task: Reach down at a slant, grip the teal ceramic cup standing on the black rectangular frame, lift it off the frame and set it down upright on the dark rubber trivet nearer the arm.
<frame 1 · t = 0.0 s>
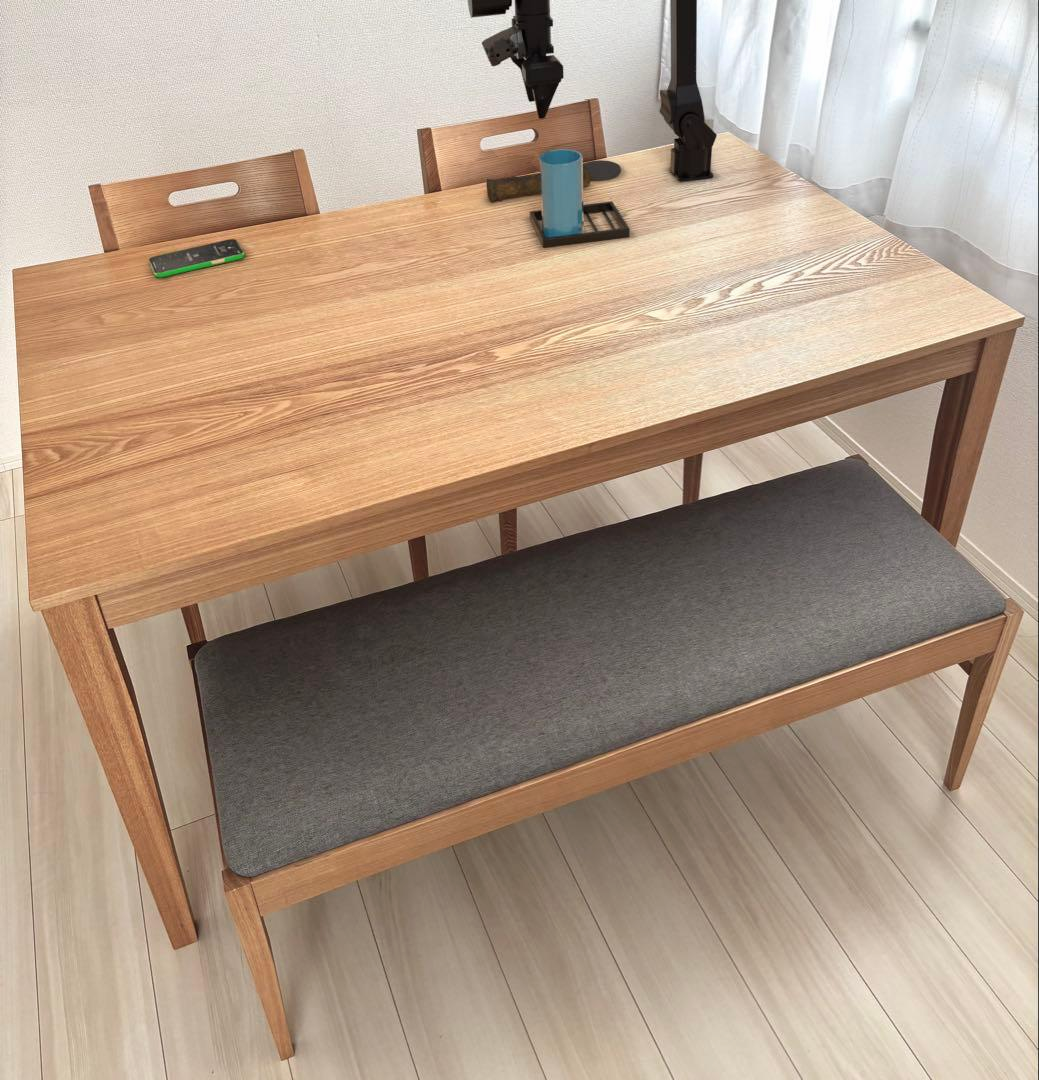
hand: (536, 109, 181), 15 cm above the table, tool pointing down, fingers open, 9 cm apart
black rectangular frame: (578, 228, 177), on the table
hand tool: (538, 194, 190), on the table
cup: (563, 234, 176), resting in black rectangular frame
trivet: (599, 172, 196), on the table
smartphone: (197, 261, 176), on the table
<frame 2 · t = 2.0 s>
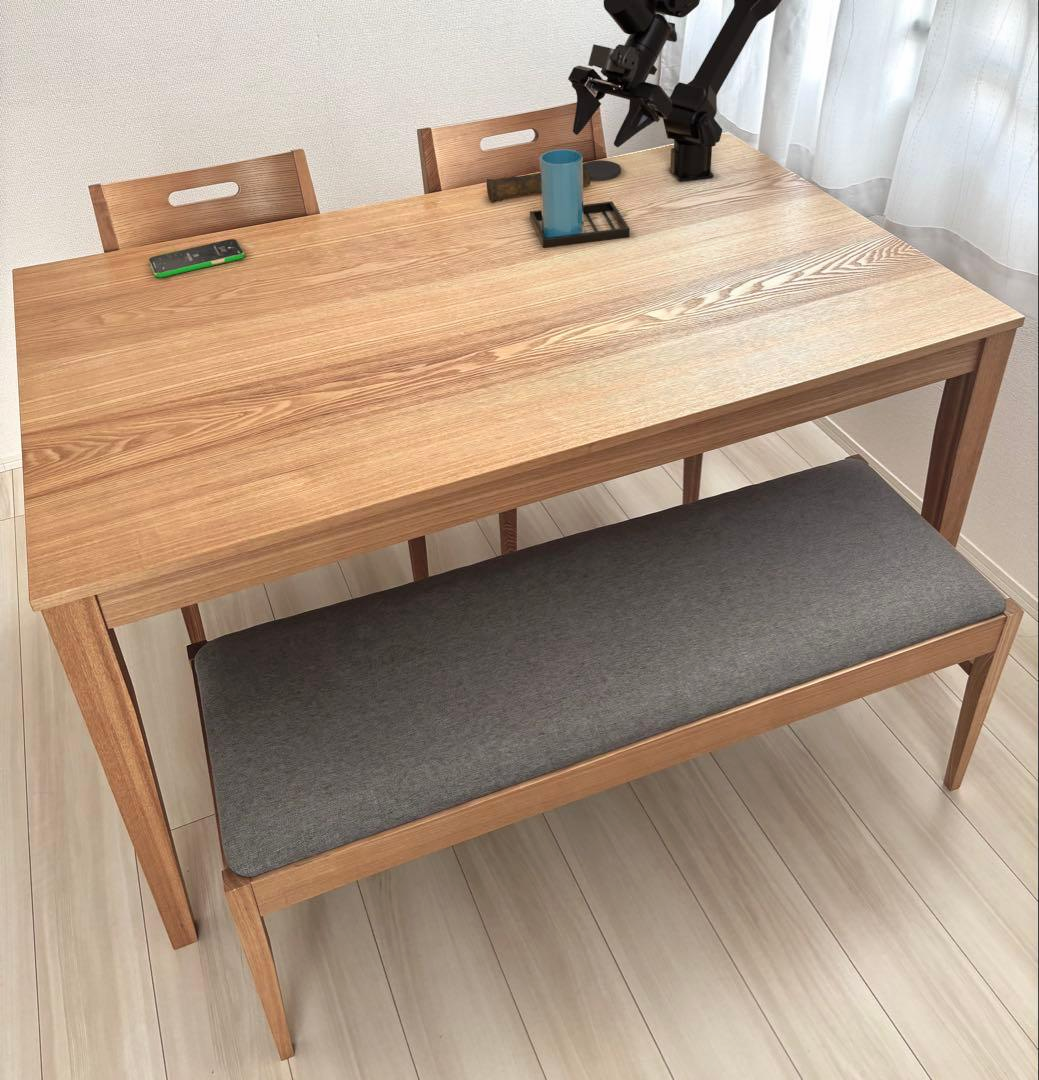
hand: (594, 139, 171), 13 cm above the table, tool tilted 45°, fingers open, 9 cm apart
nothing on the table moved.
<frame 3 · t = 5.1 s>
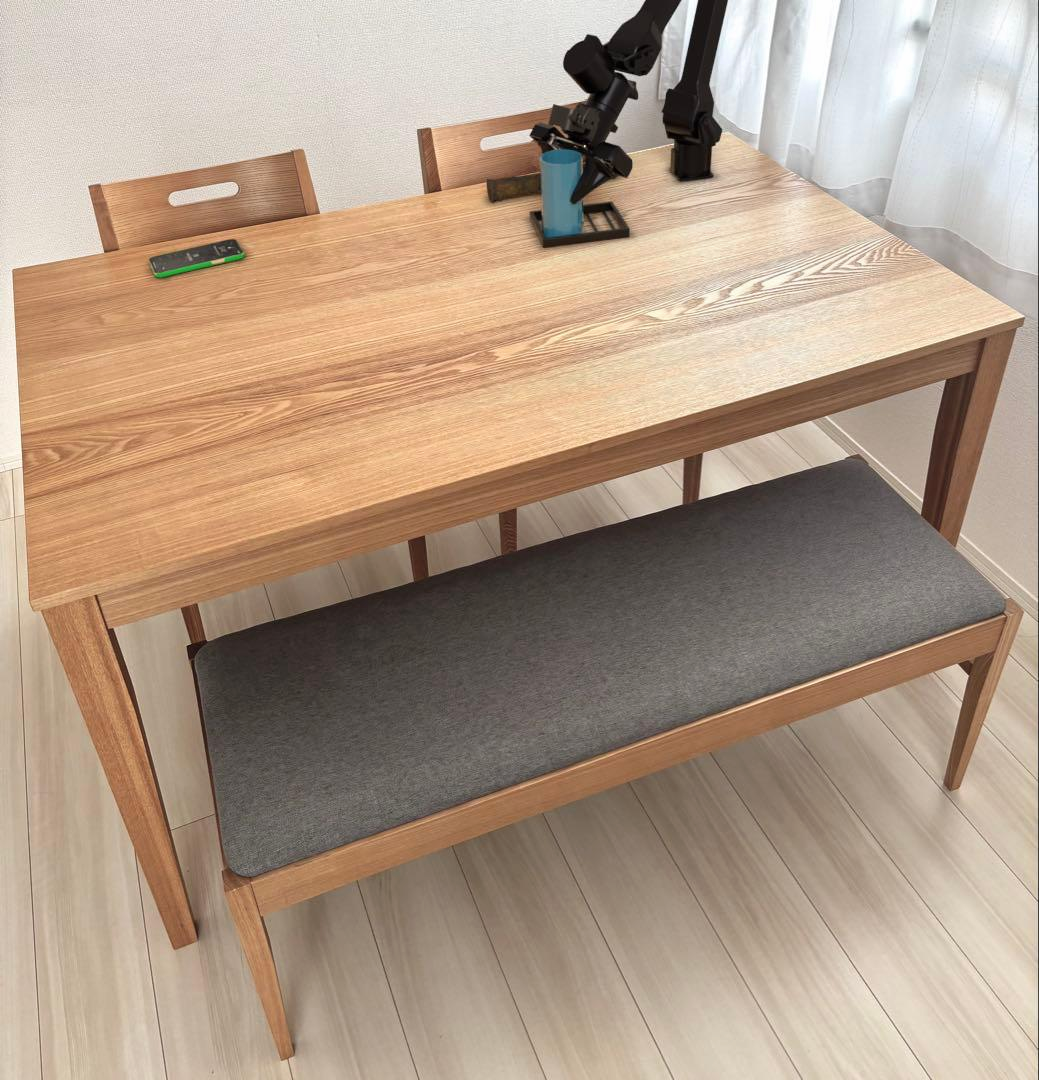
hand: (555, 197, 171), 7 cm above the table, tool tilted 45°, fingers closed on cup, 7 cm apart
cup: (563, 234, 176), resting in black rectangular frame, touching gripper
everything else where it was.
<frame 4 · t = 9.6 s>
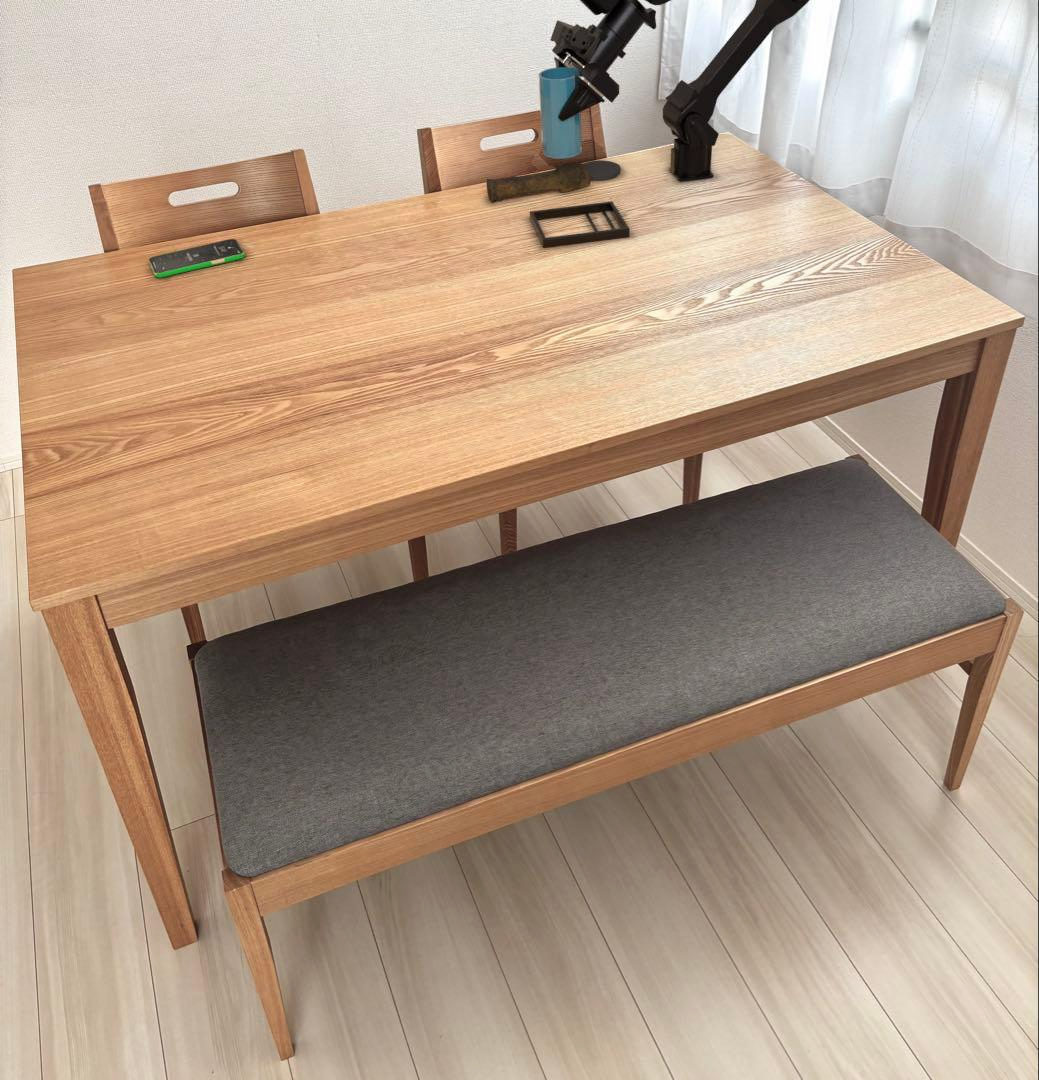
hand: (553, 112, 178), 15 cm above the table, tool tilted 45°, fingers closed on cup, 7 cm apart
cup: (562, 151, 183), point 8 cm above the table, touching gripper
everything else where it was.
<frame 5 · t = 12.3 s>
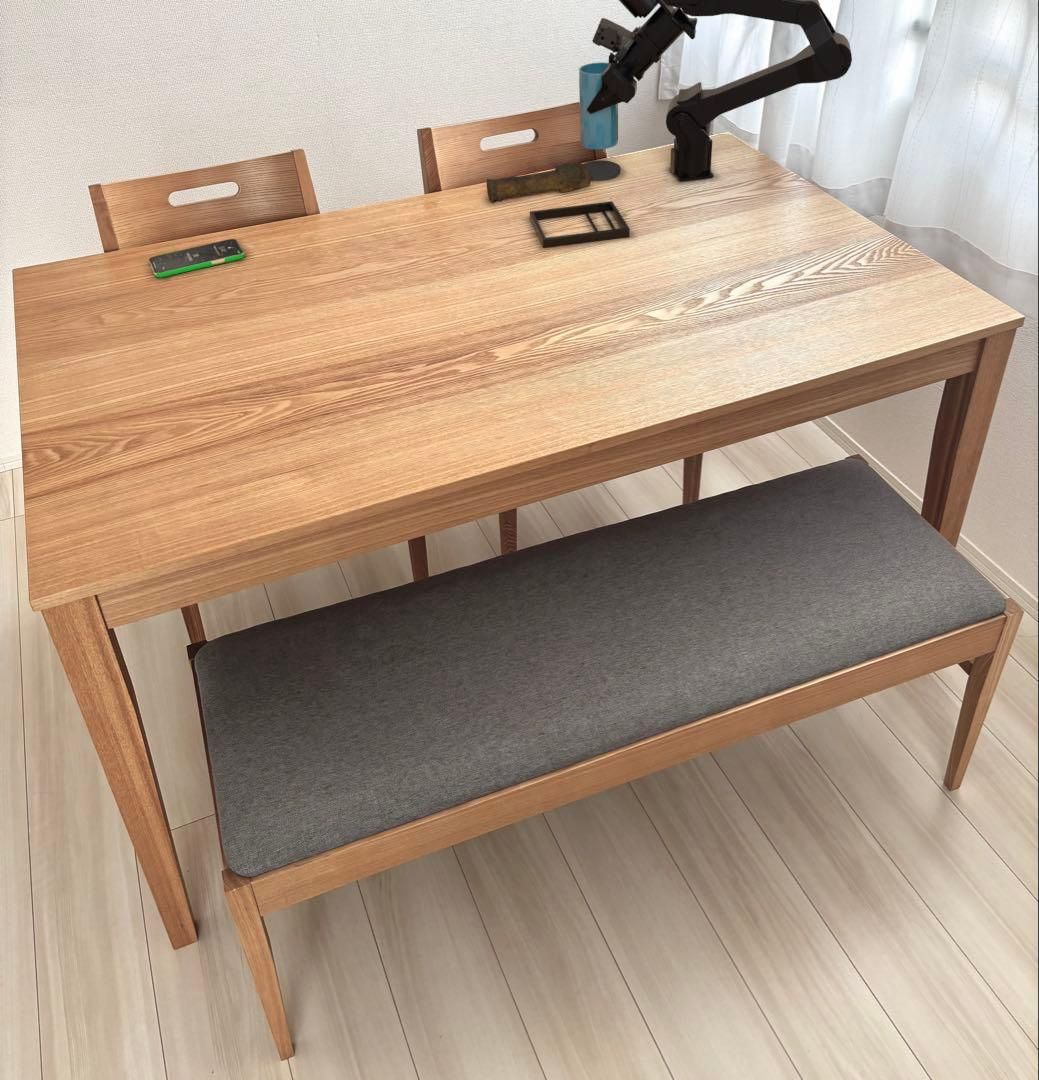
hand: (591, 104, 188), 12 cm above the table, tool tilted 45°, fingers closed on cup, 7 cm apart
cup: (599, 142, 192), point 6 cm above the table, touching gripper
everything else where it was.
when the fingers open (8 cm above the table, at t = 14.3 s): cup stays where it is, resting on trivet.
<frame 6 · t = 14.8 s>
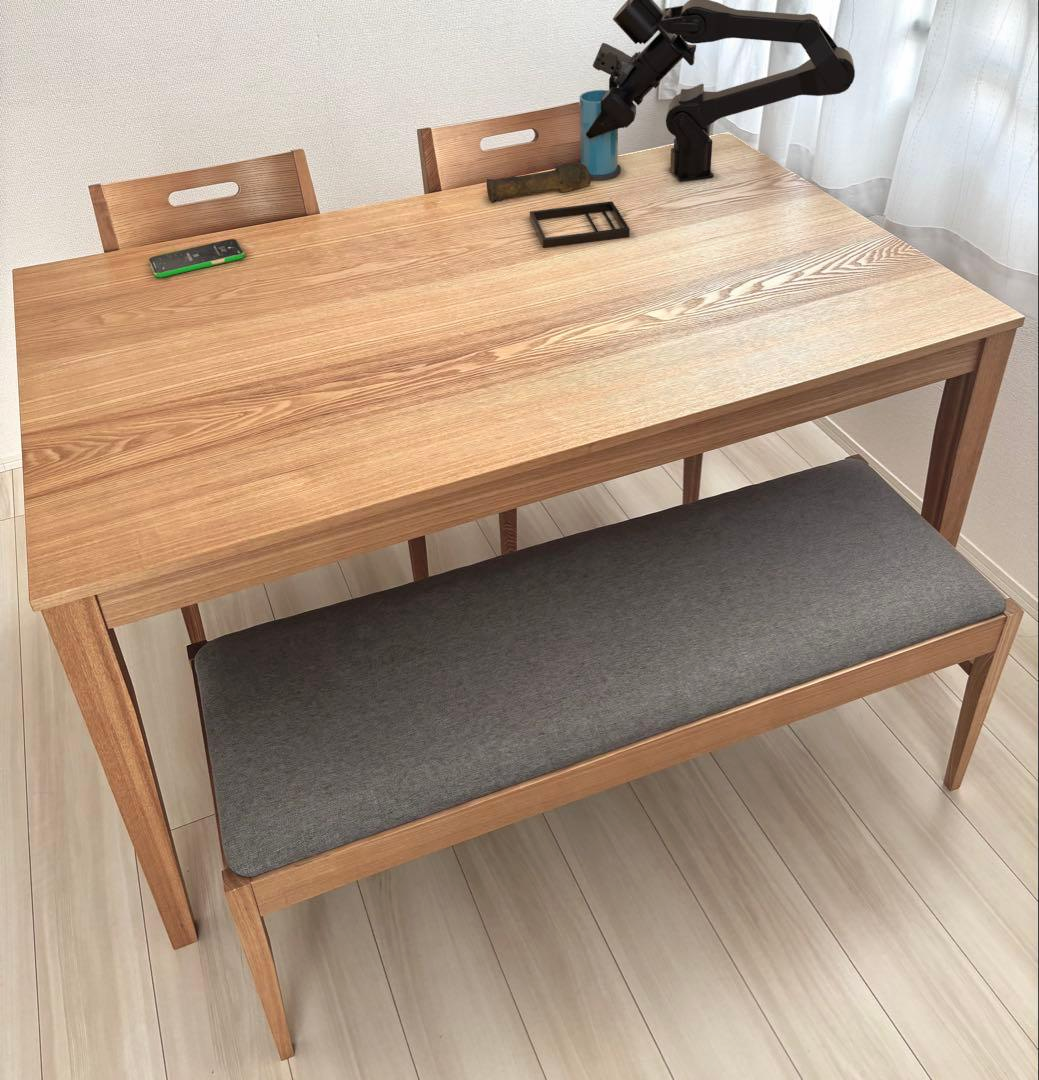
hand: (590, 127, 191), 8 cm above the table, tool tilted 45°, fingers open, 9 cm apart
cup: (599, 168, 195), point 1 cm above the table, touching trivet
everything else where it was.
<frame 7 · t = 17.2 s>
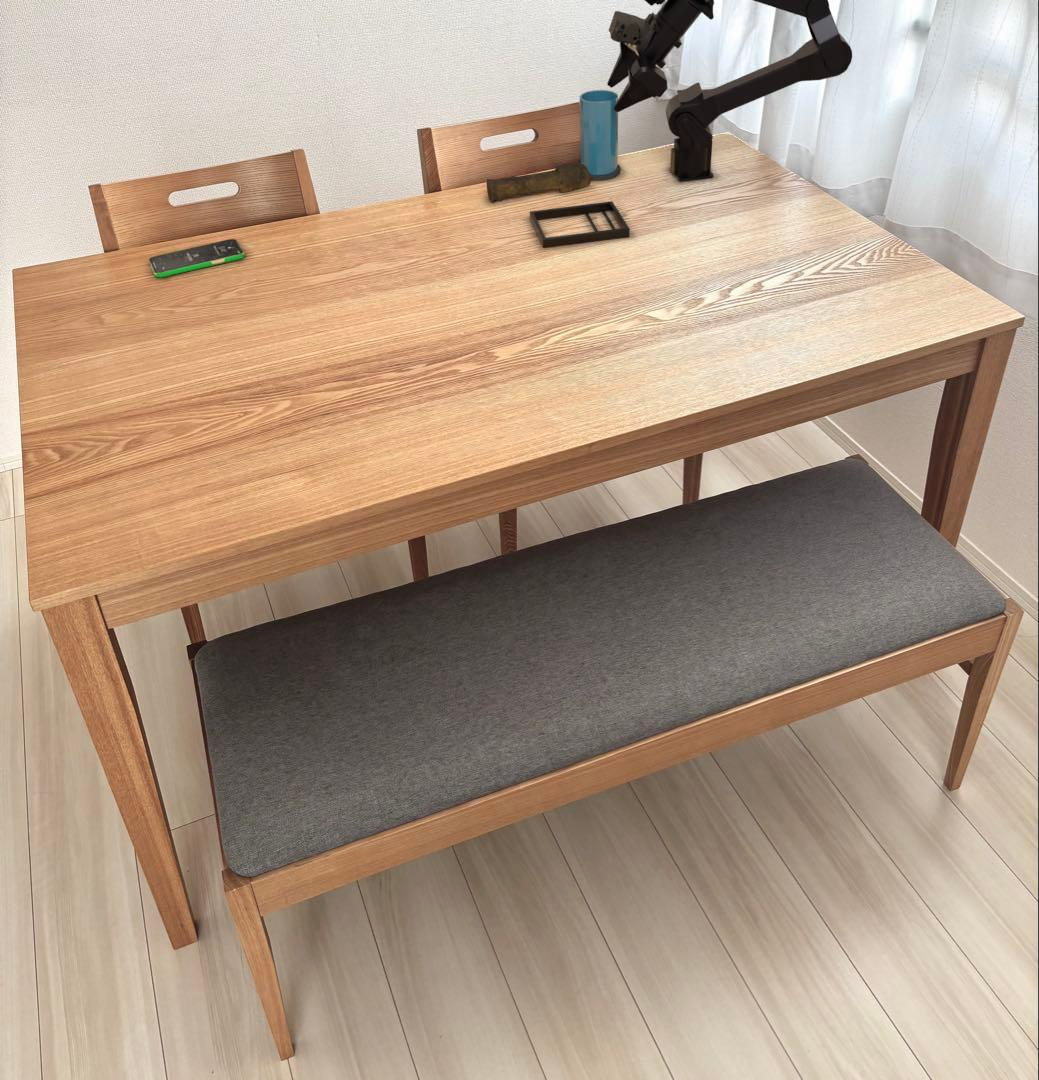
hand: (612, 97, 186), 14 cm above the table, tool tilted 40°, fingers open, 9 cm apart
nothing on the table moved.
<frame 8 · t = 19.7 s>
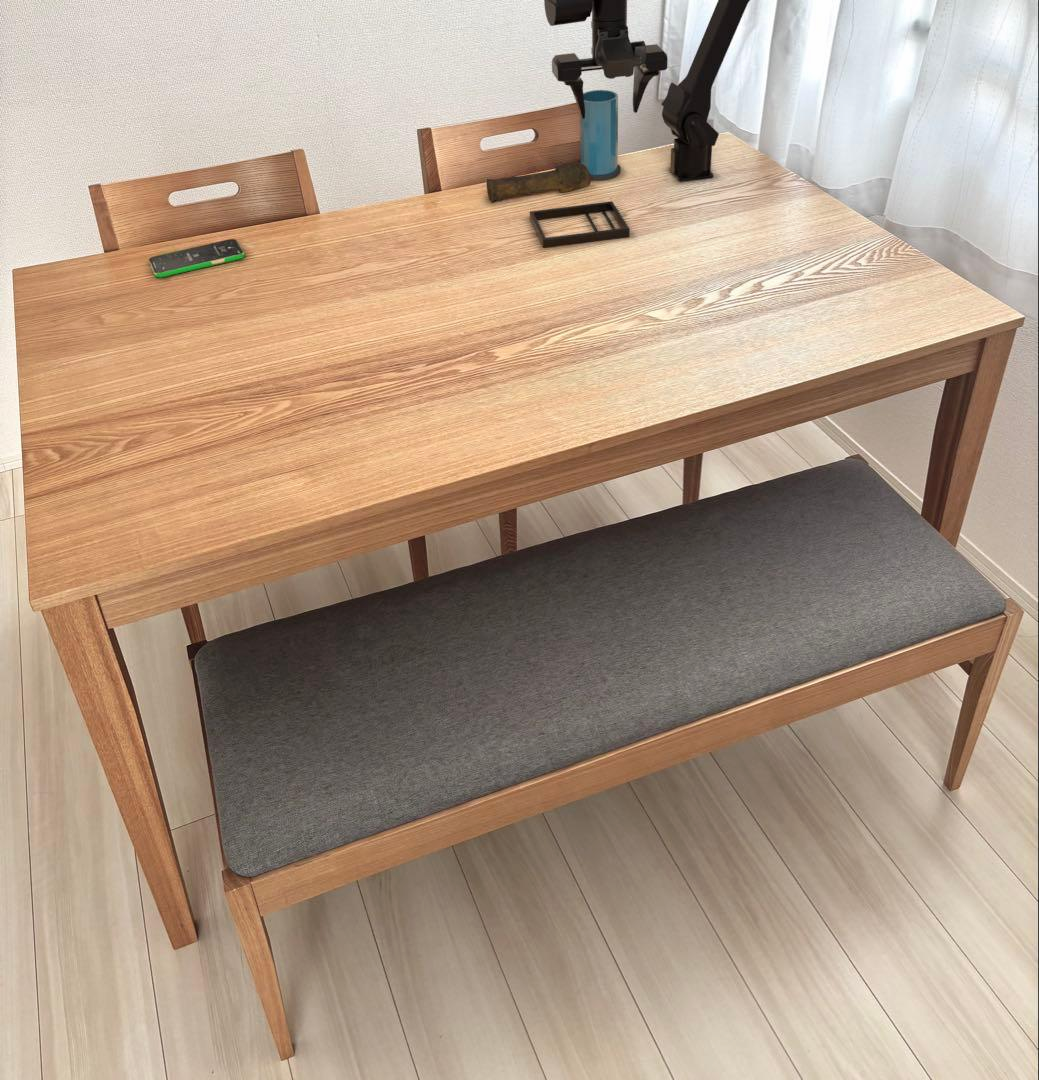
hand: (609, 115, 181), 13 cm above the table, tool pointing down, fingers open, 9 cm apart
nothing on the table moved.
at the end: cup 0.0 cm off-centre on the trivet, point 0.8 cm above the trivet's base; cup tilted 0°; the gripper is holding nothing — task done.
